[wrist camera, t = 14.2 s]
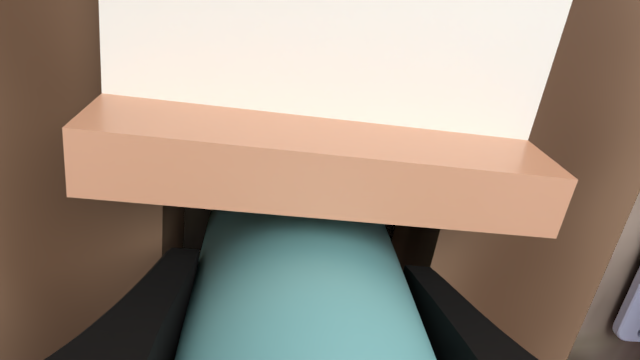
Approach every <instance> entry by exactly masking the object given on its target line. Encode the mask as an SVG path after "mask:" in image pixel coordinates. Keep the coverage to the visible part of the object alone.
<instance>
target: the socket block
mask: <svg viewBox="0 0 640 360" xmlns="http://www.w3.org/2000/svg"><path fill="white" fill-rule="evenodd" d="M101 93H102V88H101V58H100V28H99V0H0V360H44V359H45V358H47V357H49V356H50V355H52V354H53V353H54V352H56V351H57V350H59V349H60V348H61V347H63V346H64V345H66V344H67V343H68V342H70V341H71V340H72V339H74V338H75V337H76V336H78V335H79V334H80V333H82V332H83V331H84V330H85V329H87V328H88V327H89V326H90V325H92V324H93V323H94V322H95V321H96V320H97V319H99V318H100V317H101V316H102V315H103V314H104V313H106V312H107V311H108V310H109V309H110V308H111V307H113V306H114V305H115V304H116V303H117V302H118V301H119V300H120V299H121V298H122V297H123V296H124V295H125V294H127V293H128V292H129V291H130V290H131V289H132V288H133V287H134V286H135V285H136V284H137V283H138V282H139V281H140V280H141V279H142V278H143V277H144V276H145V275H146V273H147V272H148V271H149V270H150V269H151V268H152V267H153V266H154V265H155V264H156V263H157V262H158V260H159V259H160V258H161V257H162V256H163V255H164V253H165V252H166V251H168V250H169V249H170V248H183V238H184V210H185V207H178V206H166V205H154V204H142V203H130V202H119V201H107V200H95V199H83V198H72V197H67V193H66V178H65V163H64V148H63V133H62V127H63V126H65V125H66V124H67V123H68V122H69V121H70V120H71V119H73V118H74V117H75V116H76V115H77V114H78V113H80V112H81V111H82V110H83V109H84V108H85V107H86V106H88V105H89V104H90V103H91V102H92V101H93V100H95V99H96V98H97V97H98V96H99V95H100V94H101ZM528 141H530V142H531V143H532V144H533V145H535V146H536V147H537V148H538V149H540V150H541V151H542V152H544V153H545V154H546V155H547V156H549V157H550V158H551V159H552V160H554V161H555V162H556V163H558V164H559V165H560V166H561V167H563V168H564V169H565V170H566V171H568V172H569V173H570V174H572V175H573V176H574V177H575V178H577V179H578V182H577V185H576V187H575V190H574V193H573V195H572V198H571V201H570V203H569V206H568V209H567V211H566V214H565V217H564V219H563V222H562V225H561V227H560V230H559V233H558V235H557V238H556V239H554V238H542V237H531V236H519V235H507V234H495V233H484V232H472V231H460V230H448V229H436V228H425V227H413V226H401V225H395V229H394V233H393V238H392V245H393V247H394V250H395V252H396V255H397V258H398V260H399V263H400V266H401V268H402V271H404V267H405V265H411V266H425V267H431V268H432V269H433V270H434V271H436V272H437V273H438V274H439V275H440V276H441V277H442V278H444V279H445V280H446V281H447V282H448V283H449V284H450V285H451V286H452V287H453V288H454V289H456V290H457V291H458V292H459V293H460V294H461V295H462V296H463V297H464V298H465V299H466V300H468V301H469V302H470V303H471V304H472V305H473V306H474V307H475V308H476V309H477V310H479V311H480V312H481V313H482V314H483V315H484V316H485V317H486V318H488V319H489V320H490V321H491V322H492V323H493V324H495V325H496V326H497V327H498V328H499V329H500V330H502V331H503V332H504V333H505V334H506V335H508V336H509V337H510V338H511V339H513V340H514V341H515V342H516V343H518V344H519V345H520V346H521V347H523V348H524V349H525V350H527V351H528V352H529V353H531V354H532V355H533V356H535V357H536V358H537V359H539V360H567V358H568V356H569V354H570V351H571V349H572V347H573V344H574V342H575V340H576V337H577V335H578V333H579V331H580V328H581V326H582V324H583V321H584V319H585V317H586V314H587V312H588V310H589V307H590V305H591V303H592V300H593V298H594V296H595V293H596V291H597V289H598V287H599V284H600V282H601V280H602V277H603V275H604V273H605V270H606V268H607V266H608V263H609V261H610V259H611V256H612V254H613V252H614V249H615V247H616V245H617V242H618V240H619V238H620V236H621V233H622V231H623V229H624V226H625V224H626V222H627V219H628V217H629V215H630V212H631V210H632V208H633V205H634V203H635V201H636V198H637V196H638V194H639V191H640V0H573V1H572V4H571V7H570V10H569V13H568V17H567V20H566V23H565V26H564V29H563V32H562V35H561V38H560V42H559V45H558V48H557V51H556V54H555V57H554V60H553V63H552V67H551V70H550V73H549V76H548V79H547V82H546V85H545V88H544V92H543V95H542V98H541V101H540V104H539V107H538V110H537V113H536V117H535V120H534V123H533V126H532V129H531V132H530V135H529V138H528Z"/></svg>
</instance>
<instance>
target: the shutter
mask: <svg viewBox="0 0 640 360" xmlns="http://www.w3.org/2000/svg"><path fill="white" fill-rule="evenodd" d="M572 1H573V0H99V28H100V58H101V88H102V93H101V94H100V95H99V96H98V97H97V98H96V99H95V100H93V101H92V102H91V103H90V104H89V105H88V106H86V107H85V108H84V109H83V110H82V111H81V112H80V113H78V114H77V115H76V116H75V117H74V118H73V119H71V120H70V121H69V122H68V123H67V124H66V125H65V126H63V127H62V133H63V148H64V163H65V178H66V193H67V197H72V198H83V199H95V200H107V201H119V202H130V203H142V204H154V205H166V206H178V207H189V208H201V209H213V210H225V211H236V212H248V213H260V214H272V215H283V216H295V217H307V218H319V219H331V220H342V221H354V222H366V223H378V224H389V225H401V226H413V227H425V228H436V229H448V230H460V231H472V232H484V233H495V234H507V235H519V236H531V237H542V238H554V239H556V238H557V235H558V233H559V230H560V227H561V225H562V222H563V219H564V217H565V214H566V211H567V209H568V206H569V203H570V201H571V198H572V195H573V193H574V190H575V187H576V185H577V182H578V179H577V178H575V177H574V176H573V175H572V174H570V173H569V172H568V171H566V170H565V169H564V168H563V167H561V166H560V165H559V164H558V163H556V162H555V161H554V160H552V159H551V158H550V157H549V156H547V155H546V154H545V153H544V152H542V151H541V150H540V149H538V148H537V147H536V146H535V145H533V144H532V143H531V142H530V141H528V138H529V135H530V132H531V129H532V126H533V123H534V120H535V117H536V113H537V110H538V107H539V104H540V101H541V98H542V95H543V92H544V88H545V85H546V82H547V79H548V76H549V73H550V70H551V67H552V63H553V60H554V57H555V54H556V51H557V48H558V45H559V42H560V38H561V35H562V32H563V29H564V26H565V23H566V20H567V17H568V13H569V10H570V7H571V4H572Z"/></svg>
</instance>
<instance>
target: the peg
mask: <svg viewBox="0 0 640 360" xmlns="http://www.w3.org/2000/svg"><path fill="white" fill-rule="evenodd" d="M175 360H437V359H436V357H435V354H434V351H433V349H432V346H431V344H430V341H429V338H428V336H427V333H426V331H425V328H424V325H423V323H422V320H421V318H420V315H419V312H418V310H417V307H416V305H415V302H414V299H413V297H412V294H411V292H410V289H409V286H408V284H407V281H406V279H405V276H404V273H403V271H402V268H401V266H400V263H399V260H398V258H397V255H396V252H395V250H394V247H393V245H392V242H391V239H390V237H389V234H388V232H387V229H386V226H385V224H378V223H366V222H354V221H342V220H331V219H319V218H307V217H295V216H283V215H272V214H260V213H248V212H236V211H225V210H213V209H212V210H211V213H210V216H209V220H208V224H207V228H206V232H205V236H204V240H203V244H202V248H201V252H200V257H199V263H198V267H197V272H196V276H195V280H194V284H193V288H192V292H191V296H190V300H189V304H188V307H187V311H186V315H185V319H184V323H183V327H182V331H181V335H180V339H179V343H178V347H177V351H176V355H175Z"/></svg>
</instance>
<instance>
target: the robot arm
mask: <svg viewBox="0 0 640 360" xmlns="http://www.w3.org/2000/svg"><path fill="white" fill-rule="evenodd" d="M198 263H199V250H198V249H185V248H170V249H169V250H168V251H166V252H165V253H164V255H163V256H162V257H161V258H160V259H159V260H158V262H157V263H156V264H155V265H154V266H153V267H152V268H151V269H150V270H149V271H148V272H147V273H146V275H145V276H144V277H143V278H142V279H141V280H140V281H139V282H138V283H137V284H136V285H135V286H134V287H133V288H132V289H131V290H130V291H129V292H128V293H127V294H125V295H124V296H123V297H122V298H121V299H120V300H119V301H118V302H117V303H116V304H115V305H114V306H113V307H111V308H110V309H109V310H108V311H107V312H106V313H104V314H103V315H102V316H101V317H100V318H99V319H97V320H96V321H95V322H94V323H93V324H92V325H90V326H89V327H88V328H87V329H85V330H84V331H83V332H82V333H80V334H79V335H78V336H76V337H75V338H74V339H72V340H71V341H70V342H68V343H67V344H66V345H64V346H63V347H61V348H60V349H59V350H57V351H56V352H54V353H53V354H52V355H50V356H49V357H47V358H45V359H44V360H175V355H176V351H177V347H178V343H179V339H180V335H181V331H182V327H183V323H184V319H185V315H186V311H187V307H188V304H189V300H190V296H191V292H192V288H193V284H194V280H195V276H196V272H197V267H198ZM403 273H404V276H405V279H406V281H407V284H408V286H409V289H410V292H411V294H412V297H413V299H414V302H415V305H416V307H417V310H418V312H419V315H420V318H421V320H422V323H423V325H424V328H425V331H426V333H427V336H428V338H429V341H430V344H431V346H432V349H433V351H434V354H435V357H436V359H437V360H539V359H537V358H536V357H535V356H533V355H532V354H531V353H529V352H528V351H527V350H525V349H524V348H523V347H521V346H520V345H519V344H518V343H516V342H515V341H514V340H513V339H511V338H510V337H509V336H508V335H506V334H505V333H504V332H503V331H502V330H500V329H499V328H498V327H497V326H496V325H495V324H493V323H492V322H491V321H490V320H489V319H488V318H486V317H485V316H484V315H483V314H482V313H481V312H480V311H479V310H477V309H476V308H475V307H474V306H473V305H472V304H471V303H470V302H469V301H468V300H466V299H465V298H464V297H463V296H462V295H461V294H460V293H459V292H458V291H457V290H456V289H454V288H453V287H452V286H451V285H450V284H449V283H448V282H447V281H446V280H445V279H444V278H442V277H441V276H440V275H439V274H438V273H437V272H436V271H434V270H433V269H432V268H431V267H425V266H411V265H405V267H404V271H403ZM612 329H613V332H614V333H615V334H616V335H617V336H618V337H619V338H620V339H621V340H624V341H633V342H640V267H639V269H638V271H637V274H636V276H635V278H634V280H633V282H632V284H631V287H630V289H629V291H628V293H627V295H626V297H625V300H624V302H623V304H622V306H621V308H620V310H619V312H618V315H617V317H616V319H615V321H614V323H613V327H612Z"/></svg>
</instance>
